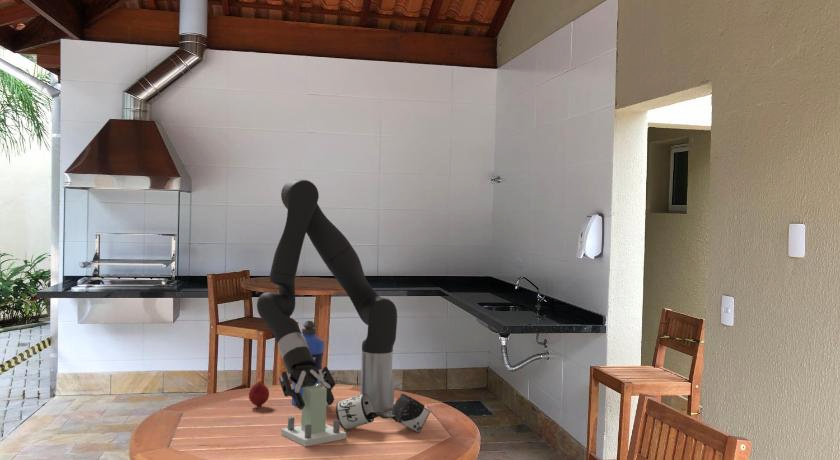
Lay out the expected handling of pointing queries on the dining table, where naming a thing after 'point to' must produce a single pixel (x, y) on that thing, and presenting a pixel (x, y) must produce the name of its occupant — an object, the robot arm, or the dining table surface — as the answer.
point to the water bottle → (312, 348)
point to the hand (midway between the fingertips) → (317, 405)
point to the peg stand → (312, 439)
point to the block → (314, 408)
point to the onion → (259, 394)
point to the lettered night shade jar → (362, 412)
